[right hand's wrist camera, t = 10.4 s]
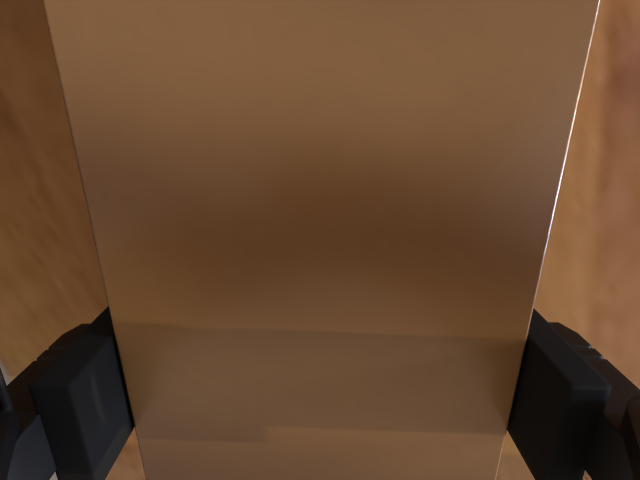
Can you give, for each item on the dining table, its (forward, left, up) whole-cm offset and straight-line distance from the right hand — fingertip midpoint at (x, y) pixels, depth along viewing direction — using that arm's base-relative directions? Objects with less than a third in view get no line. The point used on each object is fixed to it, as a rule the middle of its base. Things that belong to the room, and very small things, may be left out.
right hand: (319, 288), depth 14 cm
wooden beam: (+2, -20, -1) cm, 20 cm away
